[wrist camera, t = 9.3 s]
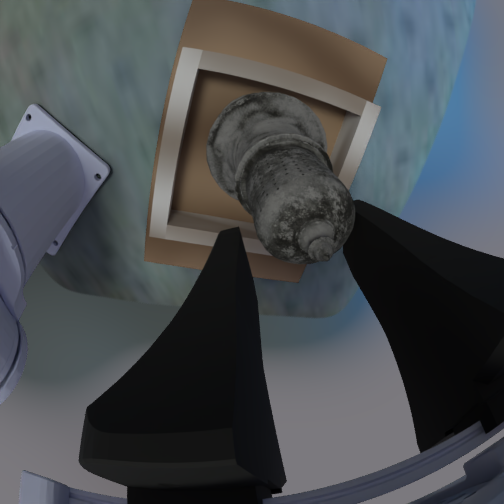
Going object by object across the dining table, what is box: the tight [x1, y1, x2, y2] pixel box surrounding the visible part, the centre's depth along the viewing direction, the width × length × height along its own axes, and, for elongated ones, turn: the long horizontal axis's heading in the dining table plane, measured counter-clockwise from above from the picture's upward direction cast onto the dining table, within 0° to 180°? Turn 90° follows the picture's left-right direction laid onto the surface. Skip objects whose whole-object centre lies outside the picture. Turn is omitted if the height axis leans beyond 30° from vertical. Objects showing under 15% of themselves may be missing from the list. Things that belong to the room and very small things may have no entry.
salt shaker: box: [206, 92, 355, 264], centre depth 11 cm, size 6×6×12 cm
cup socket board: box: [144, 0, 387, 283], centre depth 17 cm, size 18×12×3 cm, turn 165°
